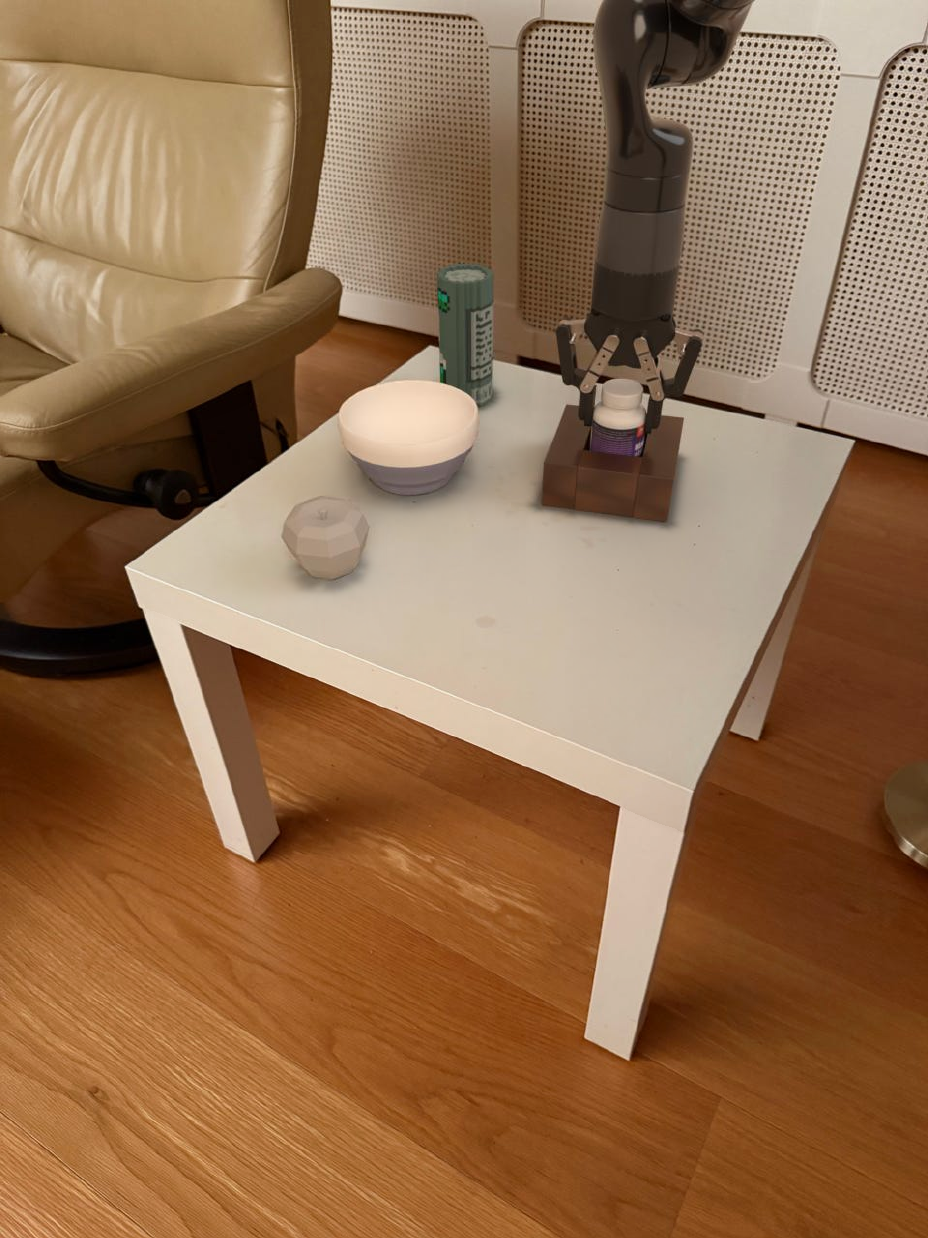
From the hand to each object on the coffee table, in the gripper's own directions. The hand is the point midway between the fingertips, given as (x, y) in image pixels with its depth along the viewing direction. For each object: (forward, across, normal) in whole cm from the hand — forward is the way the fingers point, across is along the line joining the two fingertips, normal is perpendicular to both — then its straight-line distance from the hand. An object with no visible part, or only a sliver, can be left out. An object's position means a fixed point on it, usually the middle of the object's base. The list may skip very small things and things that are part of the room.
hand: (618, 425), depth 89 cm
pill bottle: (+6, 0, 0) cm, 6 cm away
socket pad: (+7, 0, 0) cm, 7 cm away
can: (+7, -20, +15) cm, 26 cm away
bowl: (+7, -21, -4) cm, 22 cm away
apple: (+7, -24, -21) cm, 32 cm away
